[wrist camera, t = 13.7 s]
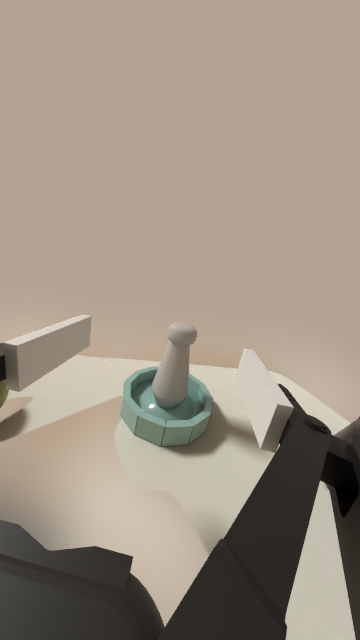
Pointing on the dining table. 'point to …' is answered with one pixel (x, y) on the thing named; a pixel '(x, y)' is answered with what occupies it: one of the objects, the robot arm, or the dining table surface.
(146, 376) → the dish
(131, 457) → the dining table surface
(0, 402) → the pear
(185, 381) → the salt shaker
